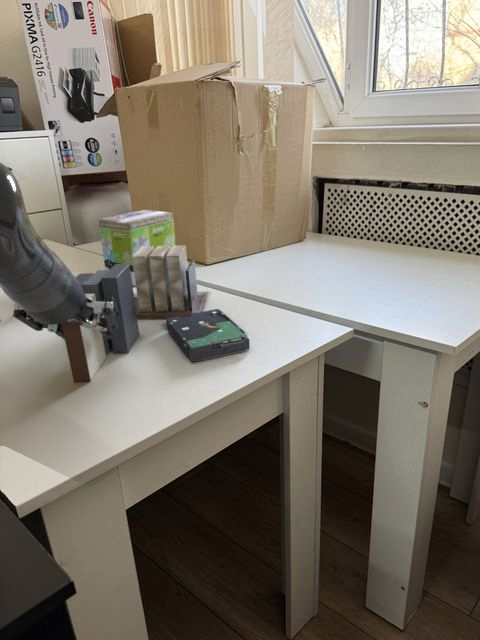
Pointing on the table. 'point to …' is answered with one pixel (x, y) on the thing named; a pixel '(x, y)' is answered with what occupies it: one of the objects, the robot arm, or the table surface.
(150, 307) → the stone tile rack
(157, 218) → the tea box
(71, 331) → the white book
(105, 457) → the table surface
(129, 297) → the grey books
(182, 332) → the disk drive
